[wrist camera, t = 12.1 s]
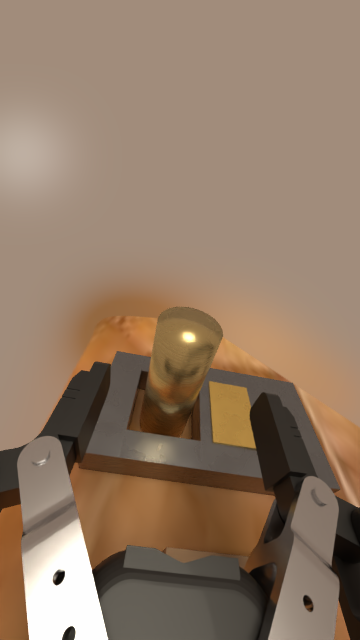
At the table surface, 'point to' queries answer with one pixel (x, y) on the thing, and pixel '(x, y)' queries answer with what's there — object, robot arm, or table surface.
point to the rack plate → (195, 432)
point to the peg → (178, 368)
